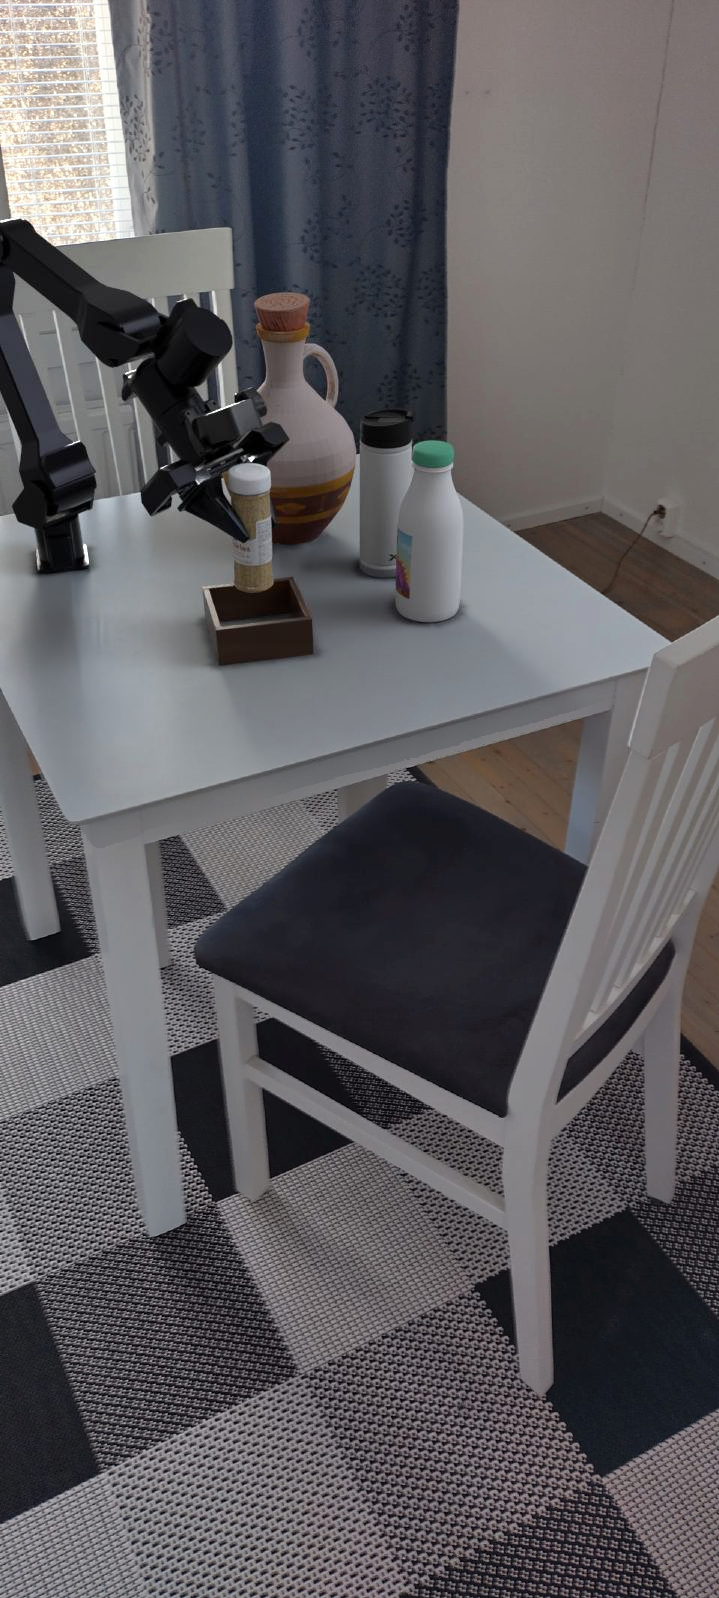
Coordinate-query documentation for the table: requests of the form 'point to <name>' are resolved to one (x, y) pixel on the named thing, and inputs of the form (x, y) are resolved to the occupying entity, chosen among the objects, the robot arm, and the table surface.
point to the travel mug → (383, 486)
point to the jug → (301, 425)
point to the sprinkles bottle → (252, 526)
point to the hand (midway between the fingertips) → (260, 533)
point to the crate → (262, 636)
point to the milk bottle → (429, 538)
